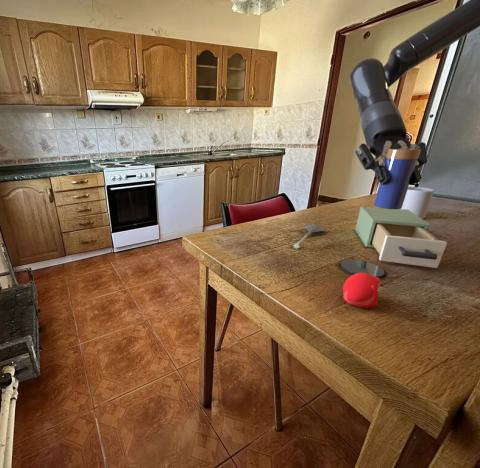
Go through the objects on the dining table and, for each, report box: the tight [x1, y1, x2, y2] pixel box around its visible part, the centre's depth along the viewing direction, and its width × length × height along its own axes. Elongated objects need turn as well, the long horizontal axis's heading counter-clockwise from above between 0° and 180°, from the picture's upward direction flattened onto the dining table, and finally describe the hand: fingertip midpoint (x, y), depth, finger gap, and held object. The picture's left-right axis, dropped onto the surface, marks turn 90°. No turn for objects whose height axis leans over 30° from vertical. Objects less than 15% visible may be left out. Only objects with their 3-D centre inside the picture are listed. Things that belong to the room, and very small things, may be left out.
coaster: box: [340, 259, 385, 279], centre depth 65 cm, size 9×9×1 cm
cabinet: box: [354, 206, 431, 249], centre depth 80 cm, size 16×13×9 cm
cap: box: [342, 273, 382, 308], centre depth 52 cm, size 8×6×6 cm
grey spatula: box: [293, 224, 326, 249], centre depth 84 cm, size 22×3×7 cm
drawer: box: [371, 223, 448, 269], centre depth 68 cm, size 19×11×7 cm, turn 156°
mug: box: [401, 186, 435, 220], centre depth 101 cm, size 12×8×11 cm
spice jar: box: [373, 148, 421, 209], centre depth 58 cm, size 5×5×13 cm
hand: (400, 182), depth 57 cm, fingers closed on spice jar, 5 cm apart
